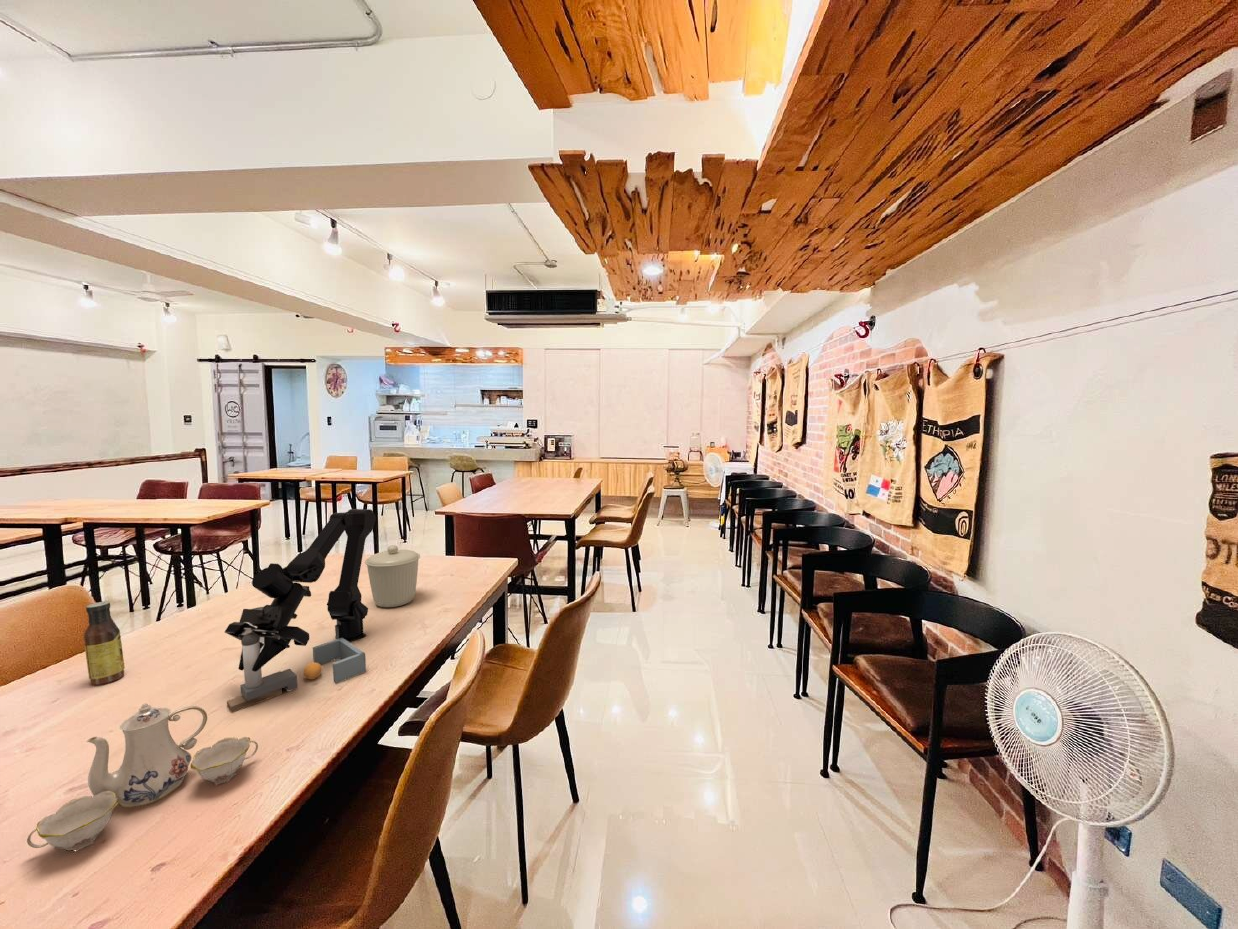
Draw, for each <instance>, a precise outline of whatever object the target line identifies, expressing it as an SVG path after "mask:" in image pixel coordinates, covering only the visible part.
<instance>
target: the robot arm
mask: <svg viewBox="0 0 1238 929" xmlns="http://www.w3.org/2000/svg"><path fill="white" fill-rule="evenodd" d="M376 521H377V515H376V514H375V512H374V511H373V510H372V509H366V508H365V509H364V508H350V509H348V510H347V511H345V512H334V513H332V514H330V516H329V519H328V521H327V523H326V524H325V525H324V527H323V528H322V530H321V531H320V532H319V534H318V535H317V536H316V538H315V539H314V540H313V542H312V543H311V544H310V546H309V547H308V548H307V549H306V550H305V551H303V552H301V553H299V554H297V555H296V556H295V557H294V558H293V559H292V560H291V561H290V562H289V563H288V564H287V565H286V566H284V567H282V566H281V565H280V564H279V563H269V565H268V566H267V567H265V568H263V569H261V570H260V571H259V572H257V573H256V574H255V575H254V576H253V578H252V581H251V586H253V588H254V589H256V590H258V591H259V592H261V593H262V594H263V595H266V596H267V597H269V598H270V599H272V601H271V604H265V605H264V606H262V607H263V609H262V610H255V609H253V608H243V610H242V612H241V616H240V619H239V621H234V622H231V623H229V624H228V625H227V627H226V629H225V630H224V634H227V635H229V636H231V637H233V638H234V639H235V638H236V639H237V640H238V641H241V640H242V638H243V637H244V636H245V635H246V634H248V633H256V634H258V635H259V637H264V644H263V643H261V642H259V643H260V649H261V648H262V646H263V645H264V647H263V649H262V651H261V653H260V654H259V656H258V658H257V660H256V662H255V664H254V666H253V668H252V671H254V672H256V671H258V670H259V669H260V668H261V669H262V667H264V666H265V665H266V664H267V663H269V661H271V660H272V659H273V658H275V657H276V656H277V655H279V654H280V653H282V652H283V651H284V650H285V649H289V648H290V647H291V645H290V642H291V641H292V640H293V643H294V645H295V646H302V647H307V645H308V642H309V641H310V633H309V632H307V631H306V630H304V629H302V628H301V627H299V626H296V625H295V626H292V625H289V624H290V622H291V620H292V619H293V620H295V619H297V618H298V614H297V613H296V611H297V610H298V608H299V606H300V604H301V602H302V601H303V598H304V597H306V598H308V597H310V598H311V597H312V592H311V589H310V586H309V585H302V584H301V583H307V584H311V583H316V582H317V581H319V579H320V578H321V576H322V574H323V571H324V570H325V567H326V558H327V556H328V554H329V553H330V551H331V550H332V549H333V548H334V546H335V544H336V543H337V542H338V541H339V539H340V538H341V536H342V535H343V534H344V532H345V535H346V538H347V539H346V542H345V543H346V544H345V548H344V549H345V550H344V556H343V559H342V567H341V572H340V576H339V582H338V585H337V586H336V587H335V589H334V590H330V591H329V593H328V599H327V603H326V606H327V612H328V613H329V616H330V619H331V620H333V621H334V620H335V621H336V624H335V625H334V628H335V629H334V630H335V639H339V638H344V639H345V640H346V641H348V642H349V643H351V642H353V641H355V640H358V638H359V639H361V638H363V637H366V636H367V634H366V633H365V632H364V619H366V617H367V616H368V612H369V607H368V606H366V605H365V604H364V603H362V593H361V591H360V588H359V586H358V584H359V578H360V573H361V567H362V562H363V557H364V551H365V550H364V549H365V545H366V544H365V543H366V539H367V538H368V536H369V535H370V534H371V533H372V531H373V530H374V526H375V524H376ZM244 622H249V623H250V624H252V625H253V626H257V628H255V627H253V626H251V625H249V624H248V623H244ZM239 658H240V659H239V664H238V668H237V669H238V670H239V671H244V664H243V651H242V650H241V654H240V657H239Z"/></svg>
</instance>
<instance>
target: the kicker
mask: <svg viewBox="0 0 1238 929" xmlns="http://www.w3.org/2000/svg"><path fill="white" fill-rule="evenodd" d="M259 640H260V637H259V635H258V634H256V633H248V634H246V635H245V636H244V637H243V638H242V640H240V642H241V652H242V651H243V664H244V670H243V673H244V674H243V675H244V676H243V677H244V683H242V684H240V685H239V686H240V688H239V689H240V694H241V696H242V695H243V696H244V698H245V699H246V700H247V701H248V700H251V699H254V698H256V697H259V696H262V695H265V694H267V693H270V692H273V691H275V690H278V689H281V688H282V689H283V688H284V689H285V690H286V691H287V692H290V691H293V690H295V689H298V675H297V674H296V673H295V672H294V671H293V670H292V669H291V668H287V669H285V670H283V671H282V670H280V671H277V672H274V673H271V674H268V675H265V676H263V675H262V674H263V673H262V672H263V671H262V667H261V668H260V669H259V670H258V671H256V672H254V671H252V668H253V666H254V664H255V662H256V660H257V658H258V656H259V654H260V643H259Z"/></svg>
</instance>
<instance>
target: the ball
mask: <svg viewBox="0 0 1238 929" xmlns="http://www.w3.org/2000/svg"><path fill="white" fill-rule="evenodd" d="M302 671H303V672H302V674H303V677H304V678H305V679H307V680H314V679H317V678H318V677H319V676H320V675H321V673H322V671H323V667H322V664H321V665H320V664H319V663H316V662H310V663H308V664H307V665H306V666H304V668H303V670H302Z"/></svg>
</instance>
